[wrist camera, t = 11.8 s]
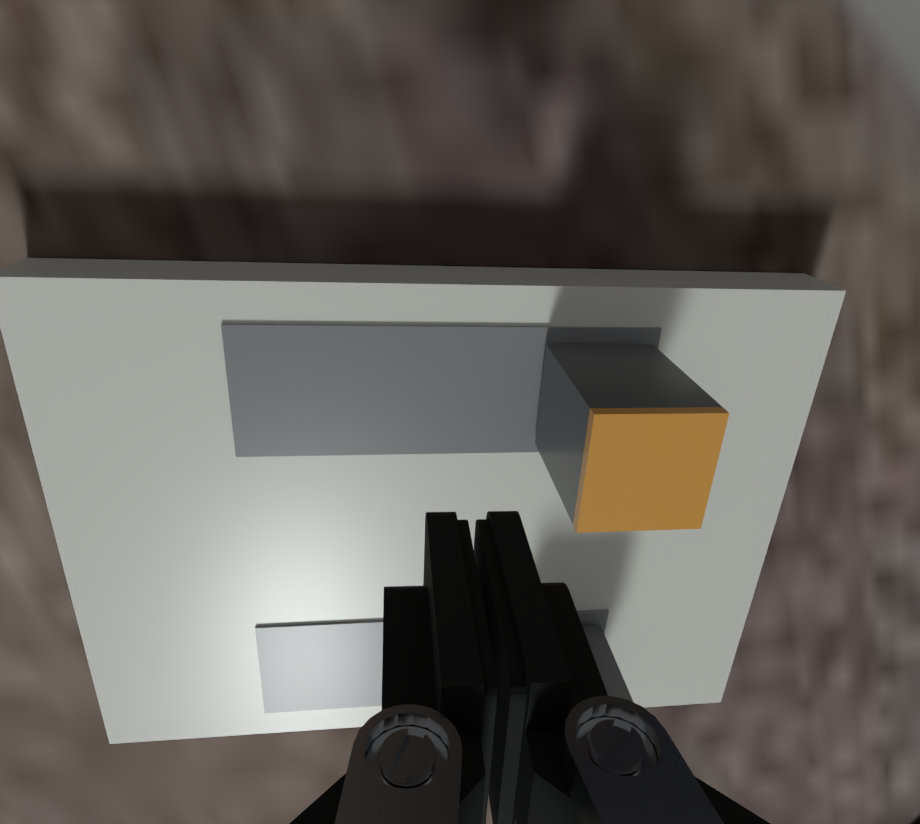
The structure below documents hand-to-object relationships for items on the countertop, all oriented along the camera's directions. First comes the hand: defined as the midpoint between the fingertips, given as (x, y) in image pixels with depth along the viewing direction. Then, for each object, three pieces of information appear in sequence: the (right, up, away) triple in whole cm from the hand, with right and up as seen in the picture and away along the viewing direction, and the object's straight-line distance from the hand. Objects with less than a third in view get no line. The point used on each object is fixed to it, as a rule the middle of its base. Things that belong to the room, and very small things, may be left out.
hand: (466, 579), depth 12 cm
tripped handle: (+4, +4, +6) cm, 8 cm away
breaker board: (-1, 0, +10) cm, 10 cm away
